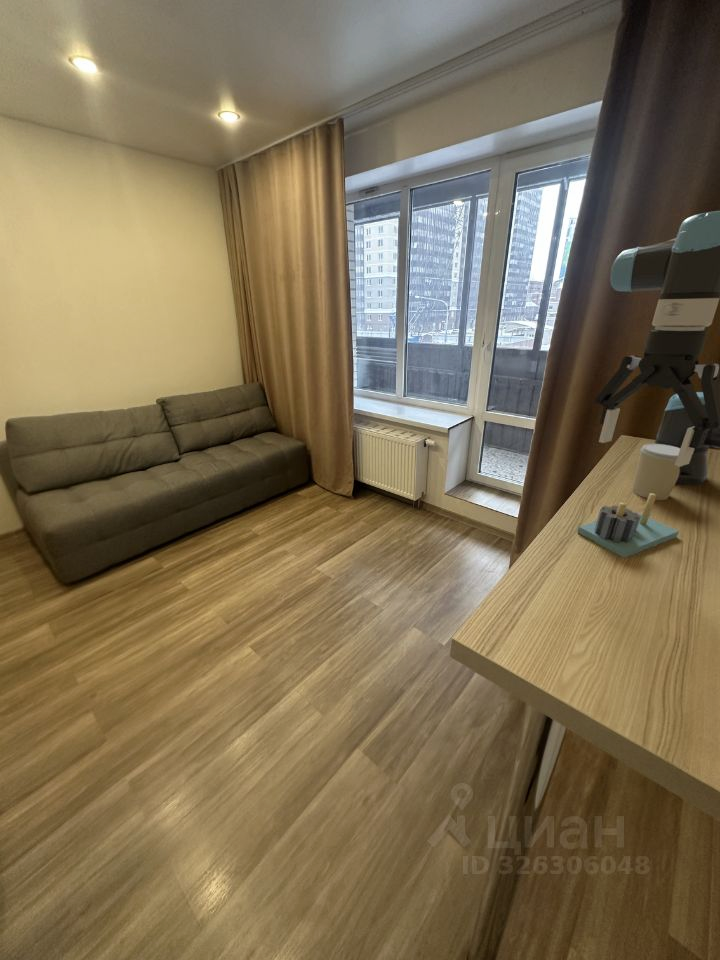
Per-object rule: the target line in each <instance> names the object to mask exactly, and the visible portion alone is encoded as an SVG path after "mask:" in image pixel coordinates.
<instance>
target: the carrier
mask: <svg viewBox="0 0 720 960" xmlns="http://www.w3.org/2000/svg"><path fill="white" fill-rule="evenodd" d="M656 496H657V495H656V494H653V493H650V494H649V497H648V498H647V499H646V500H647V501H646V503H645V506H644V509H643V511H642V514H641V513H638V512H636V511H634V510H631V509H630V510H631V511H632V513H633V514H636V515H638V516H639V519H638V522H637V524H636V527H635V530H634V533H633V536H632V539H631V541H630V542H629V543H625V542H621V541H620V543H613V542H612V540H610V539H609V540H608V539H605V540H604V539H602V538H600V535H599V534H598V533H595V531H594V529H595V526H596V522H597V520H595V521H592V522H589V523H585V524H583V525H579V526H578V528H577V532H578V533H577V534H579V533H580V534H579V535H581V534H582V535H583V536H582V535H581V536H582V537H584V536H585V538H586V537H587V538H586V539H588V538H589V540H590V539H591V540H590V541H592V540H593V541H595V542H596V544H597V543H598V544H597V545H599V544H600V545H599V546H601V545H602V546H601V547H602V548H604V547H605V549H606V548H607V549H606V550H608V551H610V552H612V553H613V554H616V555H617V556H620V557H621V558H623V559H625V558H629V557H631V556H633V555H636V554H638V553H641V552H643V551H645V549H646V550H649V549H651V548H653V547H652V546H654V547H656V546H658V545H657V544H659V545H661V544H664V543H666V542H668V540H669V541H672V540H673V539H677V537H678V535H679V532H680V530H677V529H676V528H674V527H671V526H668V525H665V524H663V523H661V522H659V521H657V520H655V519H652V518H650V515H651V512H652V509H653V507H654V504H655V501H656V500H655V499H656ZM617 506H618V509H617V512H616V515H617V516H622V517H623V514H624V511H625V509H627V506H628V505H627V503H625V502H619V504H618V505H617ZM593 541H592V542H593ZM665 541H666V542H665ZM595 542H594V543H595ZM663 542H664V543H663ZM660 543H661V544H660ZM655 545H656V546H655ZM650 547H651V548H650Z"/></svg>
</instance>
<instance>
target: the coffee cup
mask: <svg viewBox="0 0 720 960" xmlns="http://www.w3.org/2000/svg"><path fill="white" fill-rule="evenodd" d="M679 451H680V448H678V447H674V446H670V445H664V444H654V443H646V444H644V445H643V446H642V447H641V448H640V453H639V458H638V462H637V466H636V470H635V474H634V478H633V483H632V487H631V490H632V493H634V494H635V495H638V496H639V497H642V498H645V499H648V497H649V494H650V493H653V494H656V495H657V496H656V499H655V501H664V500H667V499H668V498H669V497H670V495H671V494H672V491H673V489H674V487H675V485H676V484H677V483H676V481H677V479H678V477H679V475H680V472H681V470H682V468H683V466H684V465H683V466H680V467H679V466H676V465H675V462H676V459H677V457H678V454H679Z"/></svg>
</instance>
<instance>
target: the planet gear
mask: <svg viewBox="0 0 720 960" xmlns="http://www.w3.org/2000/svg"><path fill="white" fill-rule="evenodd" d="M618 506H619V505H612V506H607V505H603V506H601V509H599V513H598V516H597V519H596V521H597V522H596V526H595V529H594V531H595V533H598V534H599V535H600V538H602V539H604V540H605V539H608V540H609V539H610V540H612V542H613V543H620V541H621V542H625V543H629V542H630V541H631V539H632V536H633V533H634V530H635V527H636V524H637V522H638V519H639V516H638V515H636V514H633V513H632V511H633V510H632V511H631V509H629V508H625V511H624V514H623V517H622V516H617V515H616V512H617V509H618Z"/></svg>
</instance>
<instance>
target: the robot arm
mask: <svg viewBox="0 0 720 960" xmlns="http://www.w3.org/2000/svg"><path fill="white" fill-rule="evenodd" d="M609 279H610V285H611V287H612V288H613V289H614V290H615V291H616V292H629V293H634V292H645V291H661V292H660V295H659V299H658V301H657V304H656V308H655V312H654V315H653V319H652V322H651V325H652V326H653V327H654V329H651V331H649V333H648V335H647V338H646V342H645V347H644V348H643V349H644V351H643V352H644V355H643V356H642V357H638V355H626V356H624V357H622V360H621V364H620V366H619V368H618V369H617V371H616V372H615V373H614V374H613V376H612V377H611V378H610V380H609V381H607V383H606V385H605V386H604V388H602V389H601V391H600V392H599V394H598V395H597V396H596V398H594V403H595V404H599V405H601V406H602V412H601V417H600V421H599V422H600V424H601V425H602V428H601V432H600V436H599V440H598V443H600V444H604V443H608V442H609V443H610V442H612V440H613V435H614V432H615V428H616V425H617V423H618V422H617V421H618V418H619V415H620V412H621V409H620V408H618V407H619V406H618V405H620V404H621V403H623V402H624V401H626V400H627V399H628V398H629V397H631V396H632V395H633V394H635V393H636V392H638V391H639V390H640V389H642V388H643V387H644V386H647V387H658V388H661V389H664V390H665V389H666V390H668V389H672V391H673V392H674V393H675V394H673V395H672V396H671V397H670V398H669V400H668V403H667V404H666V405H667V406H666V407H665V409H664V412H663V416H662V419H661V423H660V425H659V428H658V430H657V434H656V438H655V439H654V440H655V441H654V442H653V444H664V445H670V446H674V447H678V448H680V451H679V454H678V457H677V459H676V462H675V465H676V466H679V467H680V466H683V465H684V466H683V468H682V470H681V472H680V475H679V477H678V479H677V481H676V483H675V484H678V485H679V484H680V485H688V486H689V485H691V486H692V485H693V486H695V485H701V484H703V483H705V481H706V479H707V477H708V451H709V449H710V447H711V448H712V447H713V448H716V449H720V363H710V364H709V363H708V364H700V363H699V359H700V356H701V354H702V352H703V349H704V347H705V342H706V341H707V337H708V335H709V332H708V330H705V329H706V328H707V327H709V326H711V325H712V324H713V320H714V317H715V314H716V313H717V312H716V311H717V308H718V304H719V301H720V210H715V211H714V210H713V211H709V212H702V213H698V214H694V215H692V216H689V217H687V218H686V219H684V220H683V221H682V223H681V225H680V226H679V230H678V232H677V234H676V237H674V238H672V239H669V240H667V241H662V242H660V243H655V244H653V245H652V244H651V245H648V246H646V245H645V246H637V247H633V248H629V249H624V250H623V251H622V252H621V253H619V255H617V257H616V258H615V259H614V262H613V264H612V267H611V270H610V276H609ZM637 368H638V369H639V371H640V373H639V374H638V375H637V376H635V377H634V378H633V379H632V380H631V381H630V383H628V384H626V385H625V386H624V387H623V388H622V389H620V388H621V386H622V385H623V384H624V382H626V380H627V379H628V378H629V377H630V376H631V374H632V373H633V371H634V370H636V369H637ZM696 373H697V375H698V376H697V377H698V378H699V379H700V384H701V390H702V391H696V390H695V384H694V382H693V381H692V376H693V375H695V374H696ZM618 390H619V391H618ZM617 391H618V392H617ZM616 392H617V393H616Z"/></svg>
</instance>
